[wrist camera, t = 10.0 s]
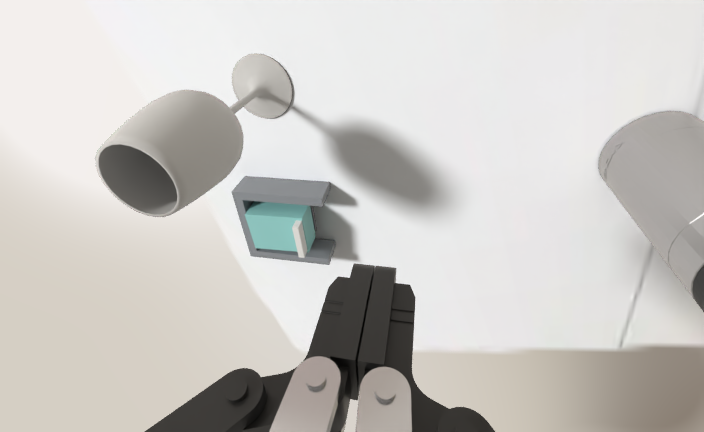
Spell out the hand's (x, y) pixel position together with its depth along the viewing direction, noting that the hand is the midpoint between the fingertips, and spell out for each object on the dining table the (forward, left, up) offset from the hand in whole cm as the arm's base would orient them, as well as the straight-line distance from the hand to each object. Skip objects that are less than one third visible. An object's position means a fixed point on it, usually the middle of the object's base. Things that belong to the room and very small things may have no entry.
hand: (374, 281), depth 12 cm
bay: (+16, +20, -29) cm, 38 cm away
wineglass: (+17, +2, -29) cm, 34 cm away
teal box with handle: (+17, +20, -29) cm, 39 cm away
